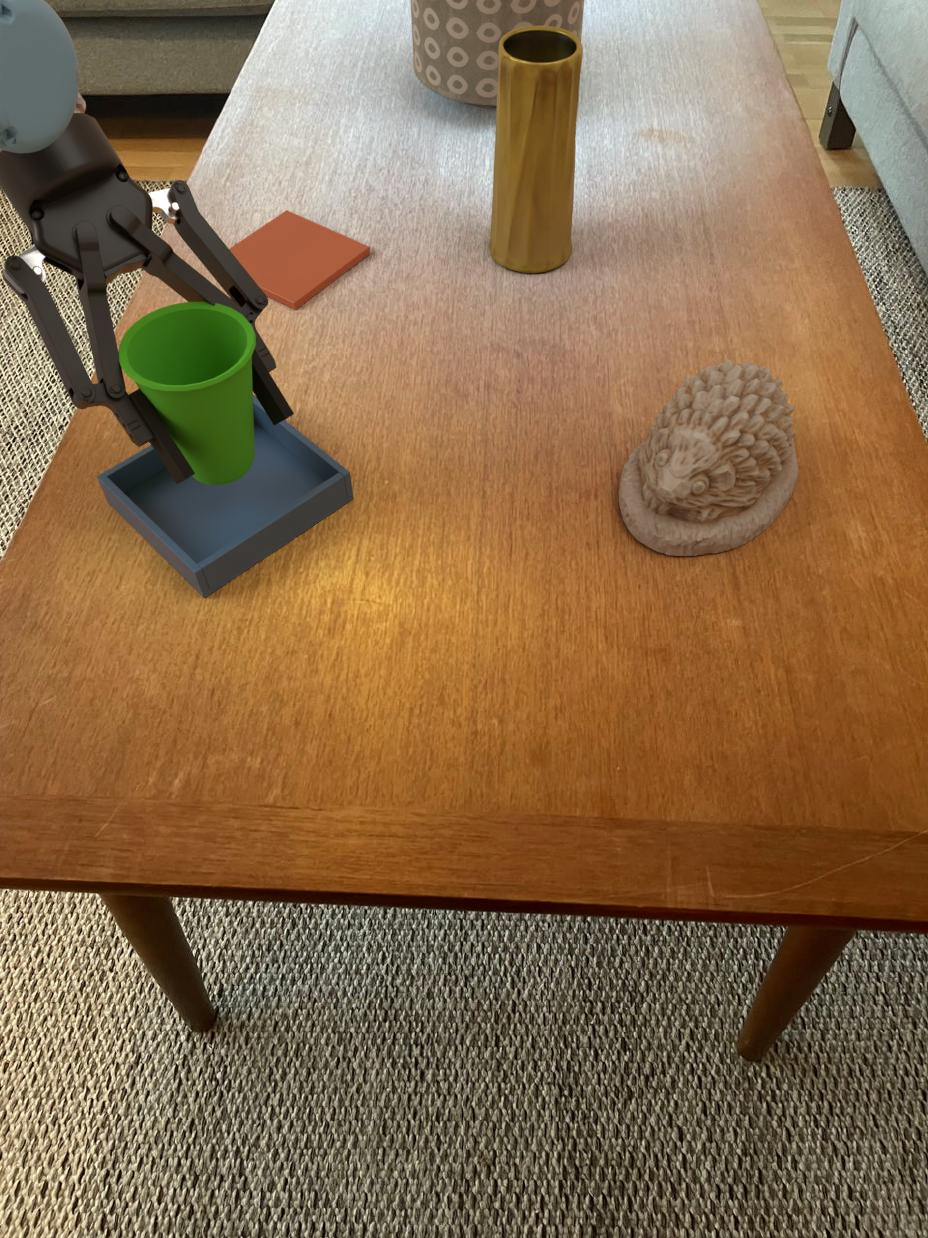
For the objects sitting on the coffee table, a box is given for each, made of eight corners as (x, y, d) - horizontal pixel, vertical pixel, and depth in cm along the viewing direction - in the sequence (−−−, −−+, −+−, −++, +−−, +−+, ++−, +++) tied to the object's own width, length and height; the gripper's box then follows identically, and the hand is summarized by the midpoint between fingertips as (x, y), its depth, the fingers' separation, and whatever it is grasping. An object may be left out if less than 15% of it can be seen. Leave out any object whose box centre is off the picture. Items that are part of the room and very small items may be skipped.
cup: (137, 458, 75) (91, 339, 66) (237, 404, 78) (207, 283, 69) (202, 525, 71) (163, 408, 62) (305, 464, 74) (282, 345, 65)
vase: (514, 284, 94) (522, 76, 78) (473, 240, 98) (473, 35, 83) (587, 259, 96) (609, 52, 81) (544, 217, 100) (556, 13, 85)
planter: (564, 49, 122) (577, -127, 107) (587, 128, 111) (605, -57, 96) (411, 56, 121) (402, -120, 107) (418, 136, 110) (410, -49, 95)
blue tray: (204, 598, 72) (194, 572, 69) (107, 502, 78) (95, 475, 75) (354, 498, 78) (350, 471, 75) (253, 416, 83) (247, 388, 81)
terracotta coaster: (295, 310, 92) (293, 302, 91) (210, 269, 96) (209, 261, 95) (370, 253, 97) (369, 246, 96) (287, 216, 101) (286, 209, 100)
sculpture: (580, 508, 77) (593, 410, 69) (702, 398, 84) (727, 298, 76) (710, 588, 72) (739, 493, 64) (827, 464, 79) (867, 365, 71)
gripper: (162, 109, 71) (330, 391, 77) (-112, 224, 63) (100, 529, 69) (187, 57, 64) (368, 369, 71) (-116, 177, 56) (119, 519, 62)
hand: (236, 448), depth 70 cm, fingers closed on cup, 8 cm apart
